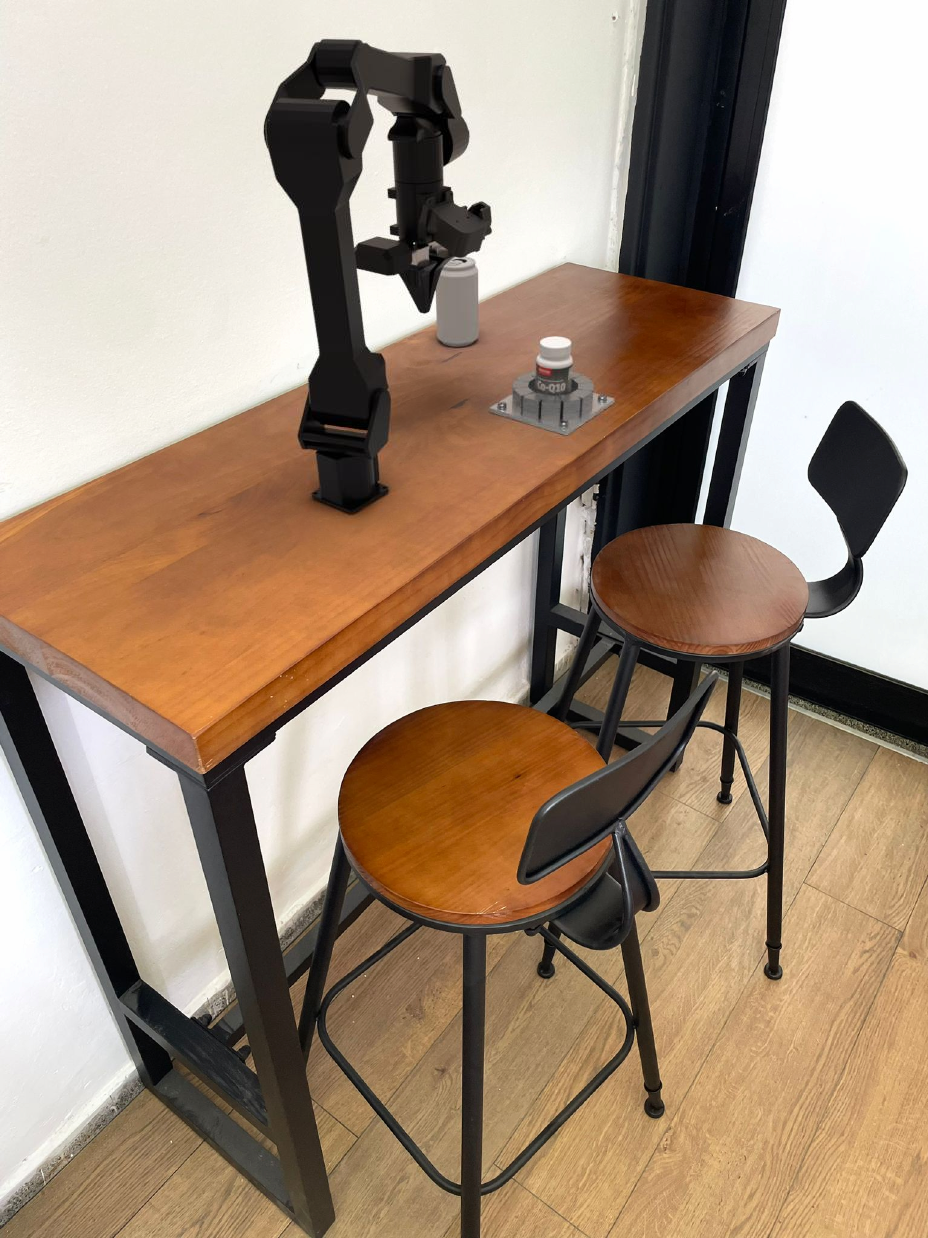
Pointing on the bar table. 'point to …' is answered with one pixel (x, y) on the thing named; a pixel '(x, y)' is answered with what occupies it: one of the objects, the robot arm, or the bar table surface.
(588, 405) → the socket
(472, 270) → the beverage can
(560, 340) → the pill bottle
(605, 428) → the bar table surface
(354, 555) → the bar table surface
